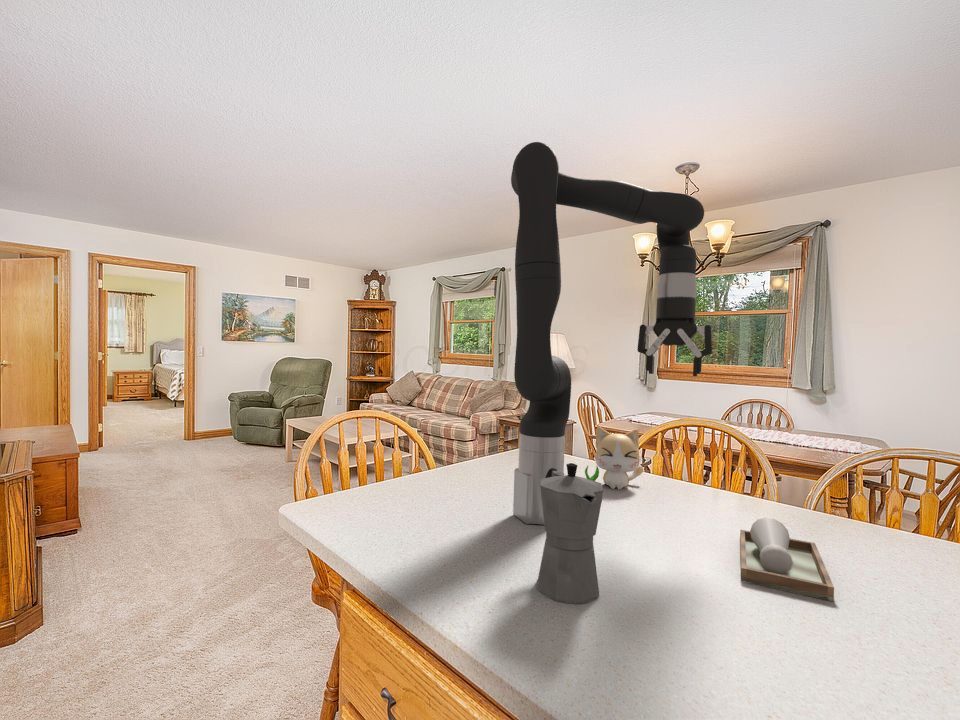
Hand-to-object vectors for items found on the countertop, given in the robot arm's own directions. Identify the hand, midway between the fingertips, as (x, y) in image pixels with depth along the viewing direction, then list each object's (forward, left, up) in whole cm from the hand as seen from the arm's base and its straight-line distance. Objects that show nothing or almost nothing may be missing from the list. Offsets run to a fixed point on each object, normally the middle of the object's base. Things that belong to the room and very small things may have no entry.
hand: (672, 374), depth 98 cm
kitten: (+4, +23, -30) cm, 38 cm away
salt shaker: (+6, -18, -26) cm, 32 cm away
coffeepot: (-36, -18, -30) cm, 50 cm away
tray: (+1, -24, -30) cm, 38 cm away
